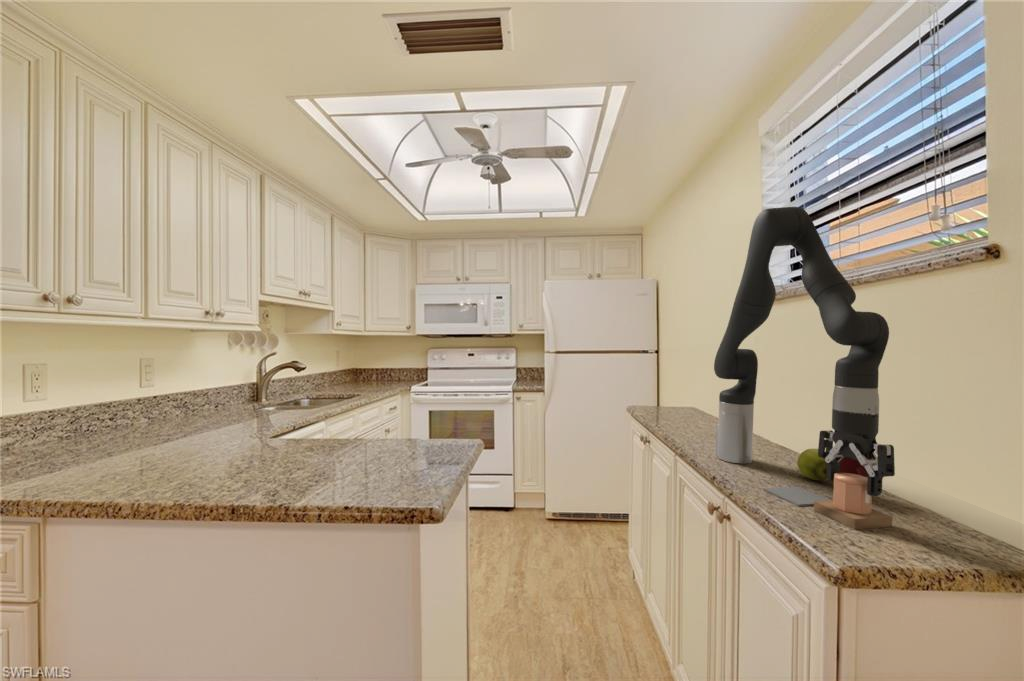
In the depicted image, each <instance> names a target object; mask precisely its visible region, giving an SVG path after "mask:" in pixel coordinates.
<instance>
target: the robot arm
mask: <svg viewBox="0 0 1024 681" xmlns="http://www.w3.org/2000/svg"><path fill="white" fill-rule="evenodd" d="M785 246H787V247H788V246H792V247H793V249H795V250H796V251H797V252H798V253H799V255H800V256H801V259H802V267H801V280H802V283H803V286H804V288H805V291H806V292H807V293H808V295H809V296H810V297H811V299H812V300H813V302H814V304H815V305H816V306H817V307H818V311H819V314H820V319H821V322H822V324H823V328H824V330H825V332H826V334H827V335H828V337H829V338H830V339H831V340H833V342H835V343H836V344H839V345H841V346H850V347H849V348H850V349H849V351H848V354H847V356H844V357H842V358H839V359H838V360H836V363H835V366H834V367H835V368H834V386H833V393H832V409H831V429H833V430H834V431H833V430H820V431H819V435H818V436H819V439H818V448H817V449H818V456H819V457H820V458H823V459H825V461H826V462H827V477H828V478H827V480H828V481H829V482H833V483H834V474H835V473H840V464H838V462H839V461H840V460H841V459H842V458H843V457H850V458H852V459H854V460H859V462H860V464H861V465H862V466H864V467H865V469H866V470H867V472H868V474H869V475H870V476H868V481H867V494H868V495H870V496H872V497H879V496H880V495H881V494H882V492H883V479H884V478H885V477H894V476H895V475H896V472H895V470H896V469H895V468H896V466H895V447H894V446H893V445H892V444H881V443H878V442H877V439H876V437H877V435H878V434H879V425H880V424H879V423H880V422H879V421H880V395H879V376H880V375H879V368H880V364H881V362H882V360H883V357H884V355H885V351H886V348H887V345H888V341H889V338H890V328H889V324H888V321H887V320H886V319H885V317H884V316H882V315H881V314H879V313H877V312H875V311H874V312H873V311H860V310H859V311H856V310H855V309H854V307H853V306H852V305H853V304H854V303H855V301H856V298H857V294H856V292H855V290H854V288H853V287H852V286H851V285H850V282H848V280H847V279H846V278H845V277H844V276H843V274H842V273H841V272H840V270H839V269H838V267H836V265H835V264H834V262H833V260H832V259H831V257H830V255H829V253H828V251H827V249H826V246H825V245H824V243H823V241H822V238H821V236H820V233H819V232H818V230H817V228H816V226H815V224H814V221H813V220H812V218H811V216H810V215H809V214H808V212H807V211H806V210H805V209H804V208H802V207H799V206H787V207H785V206H783V207H770V208H765V209H763V210H761V211H760V212H759V213H758V215H757V216H756V217H755V220H754V222H753V226H752V230H751V234H750V238H749V244H748V248H747V256H746V260H745V265H744V268H743V273H742V276H741V280H740V283H739V287H738V288H737V289H738V290H737V292H736V294H735V297H734V300H733V306H732V309H731V313H730V317H729V320H728V323H727V327H726V329H725V332H724V334H723V337H722V340H721V342H720V343H719V346H718V349H717V351H716V354H715V358H714V364H713V369H714V370H713V371H714V374H715V376H716V377H717V378H719V379H723V380H738V381H737V383H736V384H735V385H734V386H732V387H730V388H727V389H724V390H722V391H720V392H719V396H718V397H719V398H718V399H719V401H718V403H719V404H718V424H716V427H715V428H716V430H715V433H716V434H715V456H716V457H717V458H718V459H719V460H721V461H725V462H727V463H728V462H729V463H733V464H741V465H742V464H743V465H744V464H751V463H752V462H753V440H754V439H753V438H754V437H753V436H754V407H755V406H754V405H755V404H754V403H755V396H756V392H757V390H756V389H757V379H758V370H759V362H758V360H759V359H758V357H757V353H756V352H755V351H754V350H753V349H749V348H739V347H740V346H741V344H742V343H743V342H744V340H745V339H746V338H747V337H749V336H750V335H751V334H752V333H754V332H755V331H756V330H758V329H759V328H760V327H761V326H762V325H763V324H764V323H765V322H766V321H767V320H768V318H769V316H770V314H771V311H772V309H773V306H774V303H775V300H776V296H777V293H776V292H777V291H776V290H777V289H776V286H775V284H774V280H773V278H772V276H771V272H770V262H771V257H772V253H773V250H774V249H775V247H785ZM868 458H870V460H867V459H868Z"/></svg>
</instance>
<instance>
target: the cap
mask: <svg viewBox="0 0 1024 681" xmlns="http://www.w3.org/2000/svg"><path fill="white" fill-rule="evenodd" d="M867 481H868V478H867V477H864V476H861V475H856V474H850V473H835V474H834V482H833V499H832V500H833V504H834V507H836V508H838V509H841V510H843V511H846V512H851V513H856V514H871V508H873V507H872V504H873V503H872V502H873V501H872V500H873V496H870V495H868V494H867Z"/></svg>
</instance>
